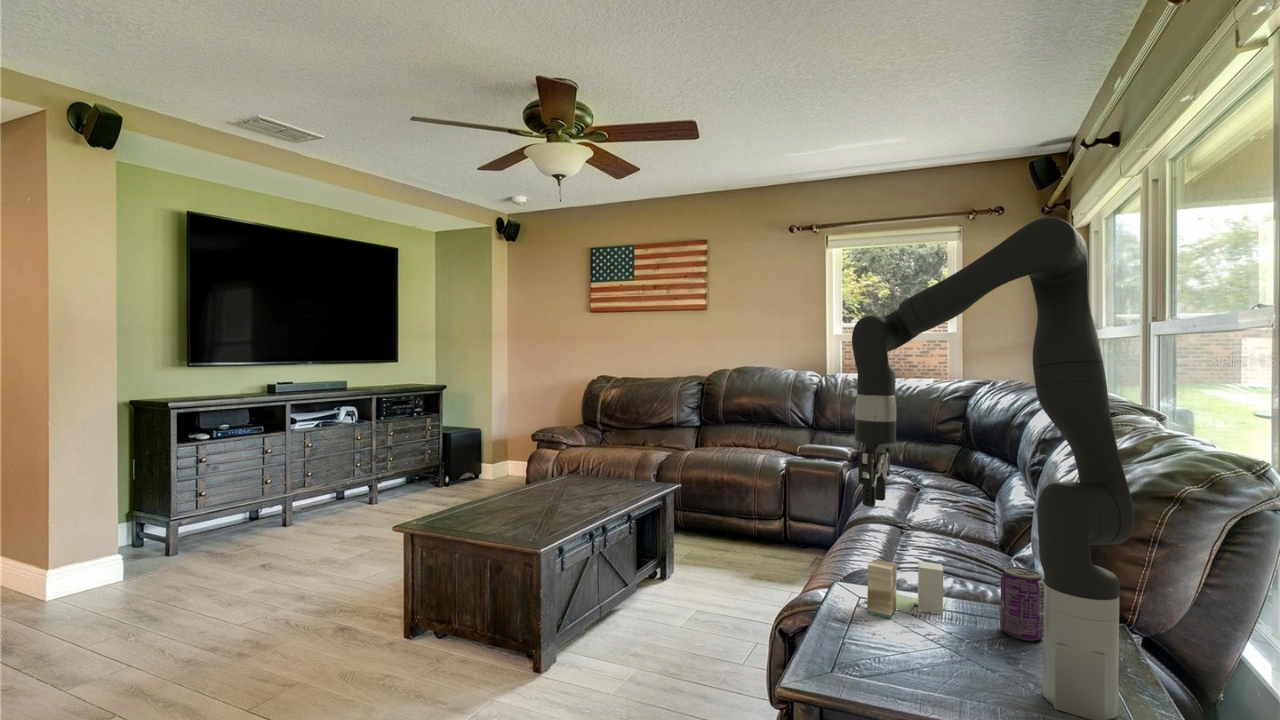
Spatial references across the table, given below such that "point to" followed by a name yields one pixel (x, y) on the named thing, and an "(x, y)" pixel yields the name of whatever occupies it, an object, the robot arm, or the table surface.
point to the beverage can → (1022, 603)
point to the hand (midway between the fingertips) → (874, 502)
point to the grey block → (930, 587)
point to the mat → (903, 602)
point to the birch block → (882, 588)
